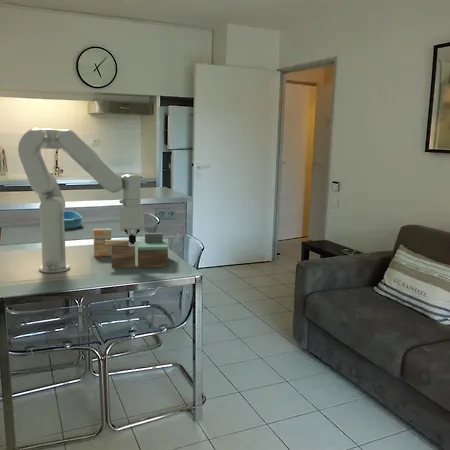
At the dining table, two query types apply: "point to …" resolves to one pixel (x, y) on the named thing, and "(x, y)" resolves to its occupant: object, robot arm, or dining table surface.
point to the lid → (153, 242)
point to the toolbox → (146, 258)
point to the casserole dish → (71, 219)
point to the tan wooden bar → (116, 242)
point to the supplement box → (102, 242)
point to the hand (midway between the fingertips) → (132, 243)
